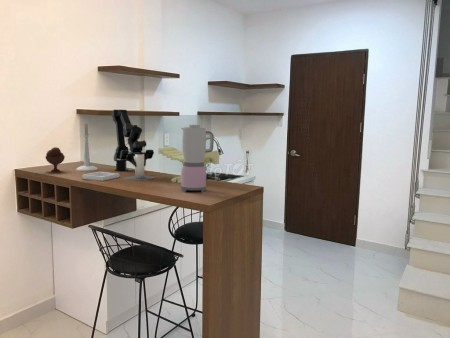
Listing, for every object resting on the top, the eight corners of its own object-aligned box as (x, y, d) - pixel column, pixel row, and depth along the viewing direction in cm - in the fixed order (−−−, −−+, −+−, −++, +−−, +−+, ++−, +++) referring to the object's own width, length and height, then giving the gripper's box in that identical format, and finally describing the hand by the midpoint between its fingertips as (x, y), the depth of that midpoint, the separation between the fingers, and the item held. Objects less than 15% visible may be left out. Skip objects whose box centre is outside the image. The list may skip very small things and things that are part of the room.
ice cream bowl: (68, 170, 232) (67, 146, 230) (58, 173, 221) (58, 148, 219) (52, 169, 233) (51, 146, 231) (42, 172, 222) (41, 147, 220)
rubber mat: (136, 175, 219) (136, 175, 219) (156, 177, 214) (157, 177, 214) (121, 179, 206) (121, 178, 206) (143, 181, 201) (143, 180, 201)
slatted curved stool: (218, 181, 207) (219, 150, 205) (203, 186, 193) (204, 152, 191) (175, 176, 221) (175, 146, 219) (158, 179, 208) (158, 148, 205)
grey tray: (99, 175, 215) (99, 171, 215) (119, 177, 210) (119, 173, 210) (82, 179, 203) (82, 174, 202) (102, 181, 197) (102, 177, 197)
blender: (181, 193, 174) (182, 124, 169) (179, 188, 186) (180, 124, 181) (214, 192, 177) (216, 125, 173) (210, 187, 189) (211, 125, 184)
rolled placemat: (138, 176, 213) (138, 153, 211) (145, 177, 211) (145, 154, 209) (133, 177, 209) (133, 154, 207) (140, 178, 207) (140, 155, 205)
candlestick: (77, 171, 229) (76, 123, 225) (75, 168, 240) (73, 122, 236) (99, 170, 235) (98, 123, 231) (95, 167, 246) (94, 122, 242)
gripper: (121, 135, 205) (127, 157, 197) (152, 135, 215) (160, 156, 207) (117, 148, 213) (122, 170, 205) (148, 148, 223) (154, 168, 215)
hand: (140, 166), depth 208 cm, fingers closed on rolled placemat, 5 cm apart
